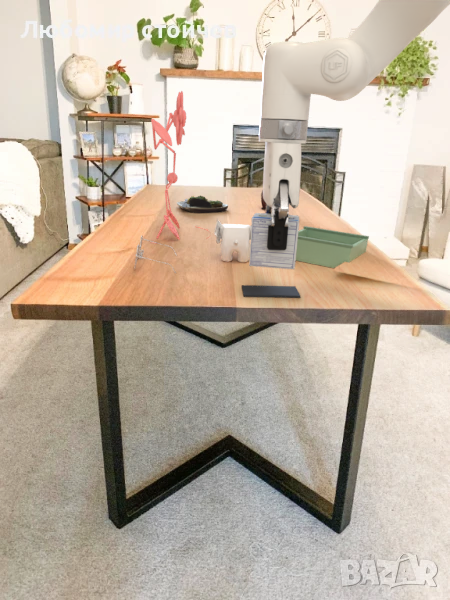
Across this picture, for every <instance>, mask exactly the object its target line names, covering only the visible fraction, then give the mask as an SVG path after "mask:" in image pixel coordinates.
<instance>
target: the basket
mask: <svg viewBox="0 0 450 600" xmlns="http://www.w3.org/2000/svg"><path fill="white" fill-rule="evenodd" d="M369 238H370V236H369V235H364V234H358V233H352V232H345V231H339V230H332V229H326V228H320V227H313V226H307V225H303V228H302V229H300V230H298V241H297V251H296V261H297V262H302V263H306V264H312V265H317V266H322V267H326V268H331V269H335V268H337V267H339V266H340V265H342V264H344V263H350V262H352V261H353V260H355V259H357V258H359V257H360V256H362V255H363V254H365V253H366V252H367V250H368V249H367V247H368V243H369Z"/></svg>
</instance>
